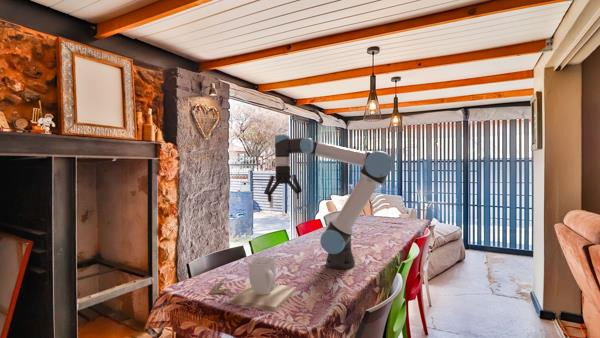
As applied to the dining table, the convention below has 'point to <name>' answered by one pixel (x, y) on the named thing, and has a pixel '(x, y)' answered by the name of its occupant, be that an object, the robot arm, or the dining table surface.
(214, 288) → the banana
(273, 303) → the board
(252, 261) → the mug
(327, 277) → the dining table surface
